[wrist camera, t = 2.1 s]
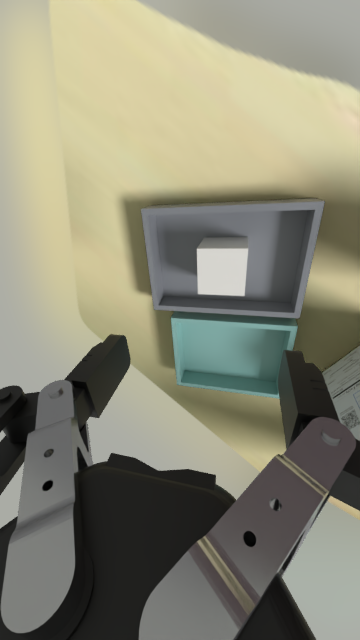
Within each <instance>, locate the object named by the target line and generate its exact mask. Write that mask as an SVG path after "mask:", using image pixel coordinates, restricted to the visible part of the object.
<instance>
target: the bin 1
mask: <svg viewBox="0 0 360 640" xmlns="http://www.w3.org/2000/svg"><path fill="white" fill-rule="evenodd" d="M324 203H325V201H323V200H320V199H318V198H306V199H283V200H261V201H239V202H217V203H194V204H172V205H151V206H148V207H145V208H142V209H141V214H142V221H143V229H144V237H145V244H146V252H147V260H148V267H149V275H150V283H151V290H152V298H153V306H154V310H168V311H185V312H201V313H218V314H234V315H251V316H267V317H284V318H300V314H301V310H302V305H303V300H304V296H305V291H306V286H307V282H308V277H309V273H310V268H311V263H312V259H313V254H314V249H315V245H316V240H317V236H318V231H319V226H320V222H321V217H322V212H323V208H324ZM205 237H248V258H247V271H246V283H245V296H231V295H207V294H198V277H197V248H198V246H199V245H200V243H201V242H202V240H203V239H204V238H205Z"/></svg>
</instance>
